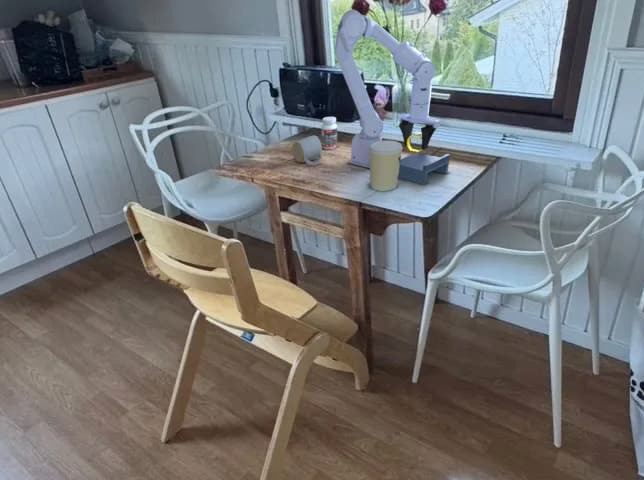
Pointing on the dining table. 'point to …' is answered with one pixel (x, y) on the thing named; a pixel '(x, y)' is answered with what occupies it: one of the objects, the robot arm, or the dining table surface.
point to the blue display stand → (422, 166)
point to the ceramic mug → (308, 150)
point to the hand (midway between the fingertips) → (415, 147)
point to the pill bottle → (329, 133)
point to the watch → (409, 141)
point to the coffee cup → (384, 164)
